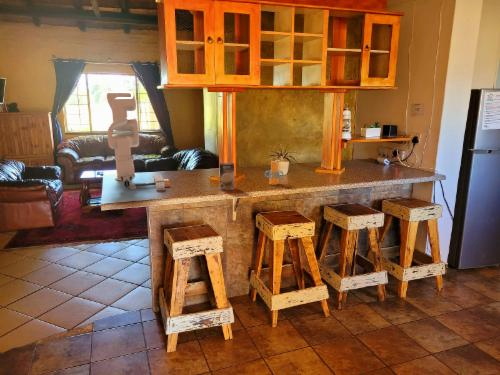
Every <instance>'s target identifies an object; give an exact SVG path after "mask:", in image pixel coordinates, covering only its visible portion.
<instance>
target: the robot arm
mask: <svg viewBox="0 0 500 375" xmlns="http://www.w3.org/2000/svg"><path fill="white" fill-rule="evenodd" d="M135 96H136V95H135V93H133V92H132V91H121V90H120V91H115V90H114V91H109V92H107V94H106V100H107V103H108V105H109V108H110V109H111V113H112V123H111V124H110V125H109V127H108V129H107V143H108V146H109V148H110V149H112V150H114V155H115V156H114V157H115V167H116V176H115V177H114V179H115V180H116V181H123V183H124V187H125V188H126V189H127V188H129V187H130V181H131V180H133V179H134V178H136V174H135V165H134V160H133V159H134V157H135V156H134V155H132V151H131V148H137V147H139V145H140V137H139V136H140V135H139V125H138V120H137V119H136V118H135V117H128V112H134V111H136V109H137V101H136V97H135ZM114 131H115V132H118V133H116V134H114V135H113V132H114ZM119 132H124V133H119ZM125 132H129V133H125Z"/></svg>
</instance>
